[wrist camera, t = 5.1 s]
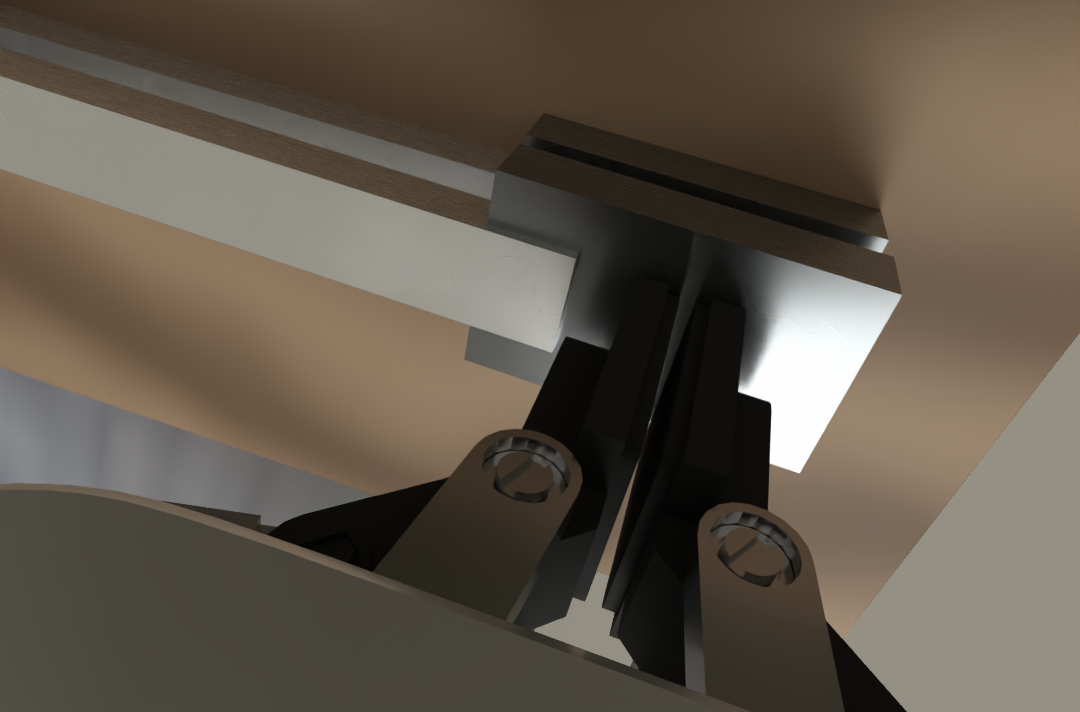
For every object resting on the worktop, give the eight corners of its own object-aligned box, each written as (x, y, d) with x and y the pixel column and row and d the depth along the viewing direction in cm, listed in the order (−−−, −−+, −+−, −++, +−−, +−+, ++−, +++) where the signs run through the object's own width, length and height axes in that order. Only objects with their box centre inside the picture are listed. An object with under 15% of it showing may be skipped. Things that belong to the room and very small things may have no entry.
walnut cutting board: (-534, -737, 12) (-711, -813, 11) (1477, -318, 9) (1604, -344, 8) (-128, 273, 23) (-187, 302, 22) (828, 595, 21) (832, 652, 19)
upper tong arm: (-137, 114, 16) (-241, 145, 14) (-206, -79, 14) (-338, -67, 12) (799, 424, 14) (799, 502, 12) (893, 253, 12) (907, 320, 10)
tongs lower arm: (-204, 62, 17) (-262, 75, 16) (-276, -123, 15) (-348, -119, 14) (797, 372, 15) (798, 408, 14) (880, 209, 13) (888, 239, 12)
